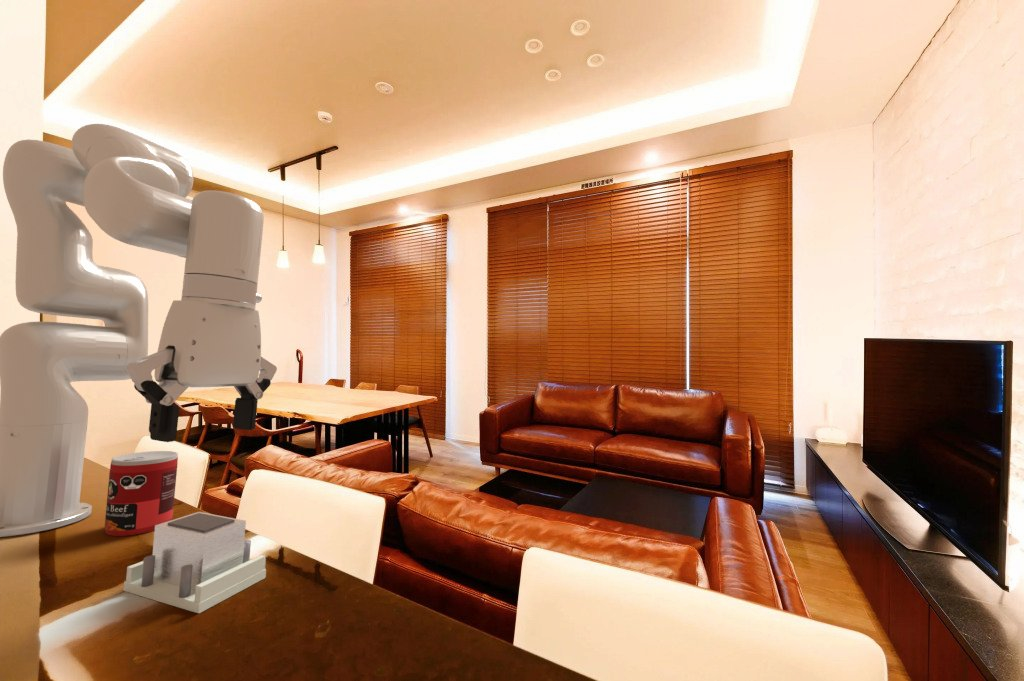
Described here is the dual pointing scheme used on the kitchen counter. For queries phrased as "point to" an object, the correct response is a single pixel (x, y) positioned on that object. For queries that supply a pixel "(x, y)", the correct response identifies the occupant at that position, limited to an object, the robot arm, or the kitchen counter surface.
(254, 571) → the tray
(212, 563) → the box
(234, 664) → the kitchen counter surface
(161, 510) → the canned food
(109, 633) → the kitchen counter surface
